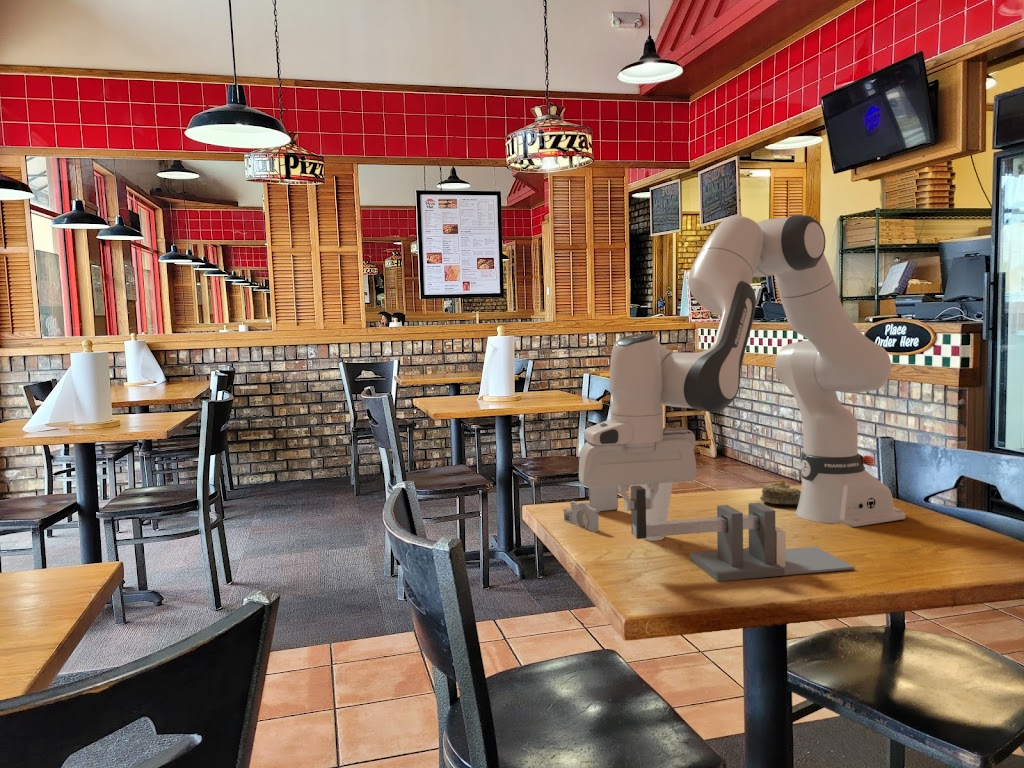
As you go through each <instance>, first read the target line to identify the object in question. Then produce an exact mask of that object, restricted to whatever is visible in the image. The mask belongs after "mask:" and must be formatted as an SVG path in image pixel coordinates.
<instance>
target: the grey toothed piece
mask: <svg viewBox="0 0 1024 768" xmlns="http://www.w3.org/2000/svg"><path fill="white" fill-rule="evenodd" d="M569 505H570V508H569V507H565V508H564V509H562V511H563V521H565V522H567V523H570V524H573V525H575V526H577V527H579V528H583V529H584V530H587V531H590V532H593V533H598V532H599V531H600V530H599V527H600V526H599V513H601V512H600V510H597V509H594V508H593V507H592V506H591V505H590V504H589V502H585V501H582V502H577V501H574V500H571V502H570V503H569Z"/></svg>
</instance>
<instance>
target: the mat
mask: <svg viewBox="0 0 1024 768" xmlns="http://www.w3.org/2000/svg"><path fill="white" fill-rule="evenodd" d="M783 568H784V575H783V576H791V575H802V574H812V573H813V574H815V573H823V572H824V573H826V572H827V573H828V572H835V571H837V572H838V571H847V570H855V566H854V565H851V564H850V563H848V562H846V561H844V560H842V559H841V558H838V557H837V556H835V555H834V554H831V553H829V552H828V551H825V550H824V549H822V548H820V547H818V546H809V547H794V548H786V567H783Z"/></svg>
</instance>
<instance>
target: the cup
mask: <svg viewBox="0 0 1024 768" xmlns="http://www.w3.org/2000/svg"><path fill="white" fill-rule="evenodd" d="M673 484H674V482H670V483H659V490H658V492H657V493H656V495H655V497H654V499H653V508H652V509H646V522H659V521H668V518H669V517H668V516H669V509H670V502H671V497H672V490H673ZM631 486H639V485H630V487H631ZM640 486H641V487H643V488H644V489H646V495H647V493H648V491H649V489H650V488H648V487H647V484H640ZM665 537H666V536H656V537H646V538H644V539H643V540H644V541H650V542H651V541H652V542H653V541H654V542H657V541H662V540H663V539H665Z"/></svg>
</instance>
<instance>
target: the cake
mask: <svg viewBox="0 0 1024 768" xmlns="http://www.w3.org/2000/svg"><path fill="white" fill-rule="evenodd" d="M785 482H786V481H785V479H783V478H782V479H781V480H780V482H771V483H765V485H764V486H763V488H762V490H761V493H762V494H761V496H760V497H759V500H760V501H763V502H764V503H765V502H766V503H768V504H769V503H770V504H777V505H798V503H799V499H800V493H801V489H799V488H795V487H790V485H789V484H787V483H785Z"/></svg>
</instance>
